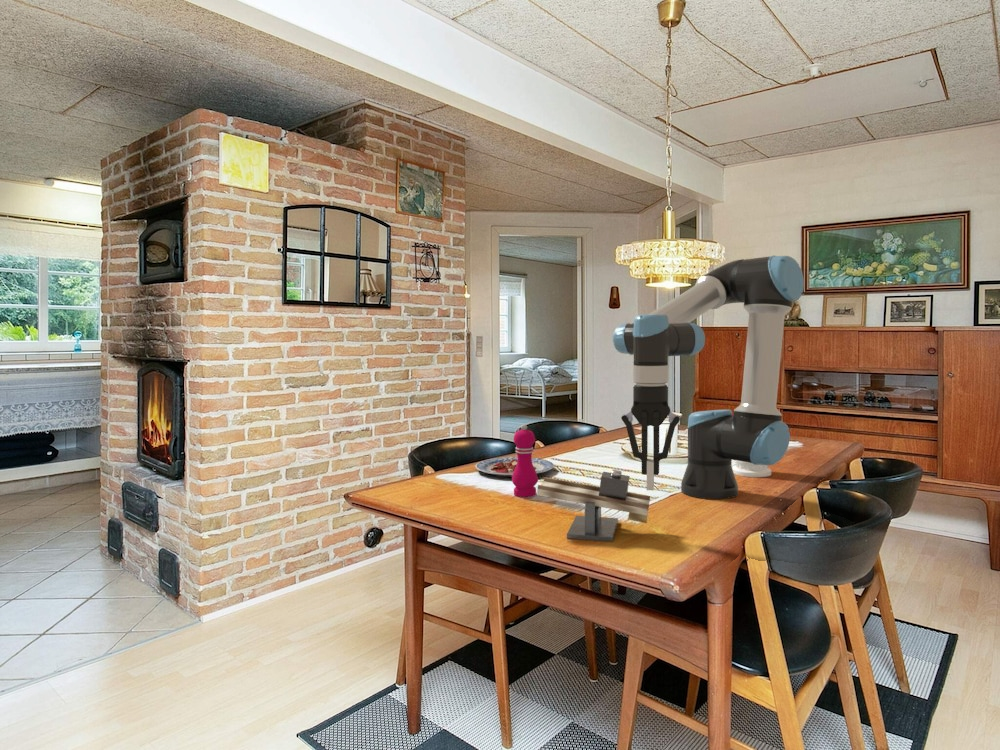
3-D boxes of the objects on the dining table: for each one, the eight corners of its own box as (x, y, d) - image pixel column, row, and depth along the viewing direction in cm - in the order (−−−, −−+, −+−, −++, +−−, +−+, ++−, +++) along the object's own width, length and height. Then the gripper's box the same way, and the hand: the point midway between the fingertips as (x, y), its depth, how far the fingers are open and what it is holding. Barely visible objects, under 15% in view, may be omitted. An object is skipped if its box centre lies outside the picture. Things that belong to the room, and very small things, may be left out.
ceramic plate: (460, 470, 211) (460, 461, 211) (522, 459, 226) (522, 451, 226) (505, 485, 190) (505, 475, 190) (570, 472, 205) (570, 463, 205)
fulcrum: (617, 522, 152) (617, 489, 151) (612, 541, 139) (612, 505, 138) (576, 519, 155) (576, 487, 154) (566, 538, 141) (566, 503, 141)
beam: (647, 514, 147) (650, 496, 147) (646, 524, 139) (648, 505, 139) (542, 494, 153) (544, 477, 153) (535, 503, 146) (537, 485, 145)
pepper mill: (535, 498, 174) (535, 426, 173) (510, 497, 176) (508, 426, 174) (539, 491, 181) (538, 422, 180) (514, 490, 183) (513, 422, 181)
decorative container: (764, 479, 192) (764, 420, 191) (726, 473, 199) (726, 417, 198) (776, 472, 201) (777, 415, 199) (739, 467, 208) (740, 412, 207)
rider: (626, 497, 146) (630, 471, 146) (625, 502, 142) (628, 476, 141) (600, 492, 148) (604, 466, 147) (598, 498, 143) (601, 471, 143)
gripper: (680, 383, 143) (680, 486, 144) (622, 382, 146) (622, 483, 148) (681, 386, 135) (680, 494, 137) (619, 385, 139) (619, 491, 141)
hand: (650, 488), depth 142 cm, fingers closed
